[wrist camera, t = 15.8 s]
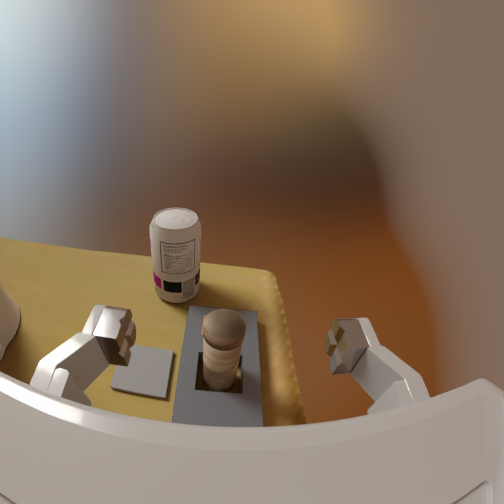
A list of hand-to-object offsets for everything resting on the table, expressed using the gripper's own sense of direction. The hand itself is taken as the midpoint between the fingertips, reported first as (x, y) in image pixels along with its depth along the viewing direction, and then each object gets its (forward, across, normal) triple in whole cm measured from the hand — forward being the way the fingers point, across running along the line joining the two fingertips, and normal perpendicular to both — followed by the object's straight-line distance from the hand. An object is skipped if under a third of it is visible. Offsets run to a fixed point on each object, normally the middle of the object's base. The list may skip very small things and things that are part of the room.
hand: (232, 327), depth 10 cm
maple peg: (+12, -1, -26) cm, 29 cm away
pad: (+13, -12, -26) cm, 31 cm away
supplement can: (+30, -9, -26) cm, 41 cm away
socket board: (+12, -1, -26) cm, 29 cm away
